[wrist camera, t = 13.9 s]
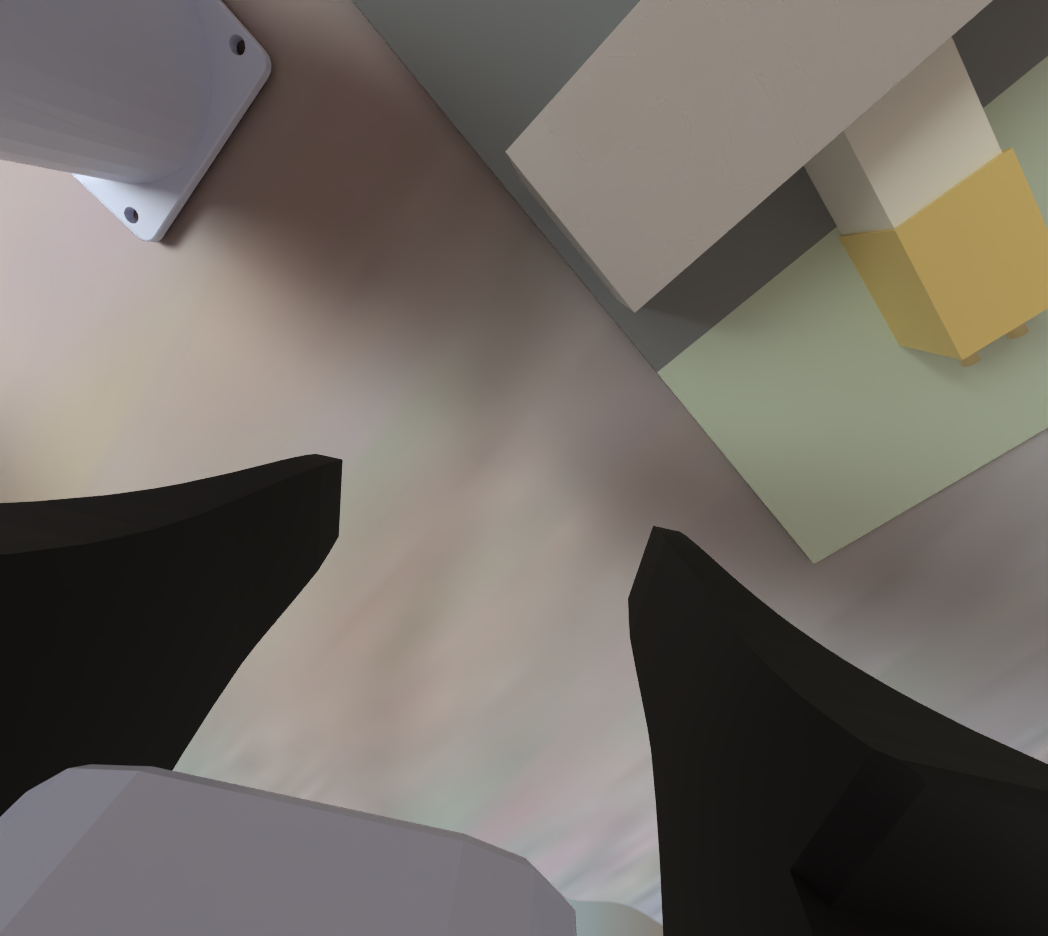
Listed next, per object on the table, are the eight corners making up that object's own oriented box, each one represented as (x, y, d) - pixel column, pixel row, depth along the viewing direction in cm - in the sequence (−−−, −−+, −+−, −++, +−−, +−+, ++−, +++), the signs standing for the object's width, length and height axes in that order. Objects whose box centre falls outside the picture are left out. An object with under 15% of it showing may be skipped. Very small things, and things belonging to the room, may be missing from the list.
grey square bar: (523, 184, 16) (505, 151, 12) (985, -312, 12) (1264, -700, 7) (617, 301, 17) (634, 312, 13) (1073, -108, 13) (1361, -322, 8)
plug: (660, -85, 13) (684, -176, 11) (759, -190, 13) (813, -319, 10) (911, 367, 17) (975, 386, 15) (1000, 312, 16) (1086, 321, 14)
